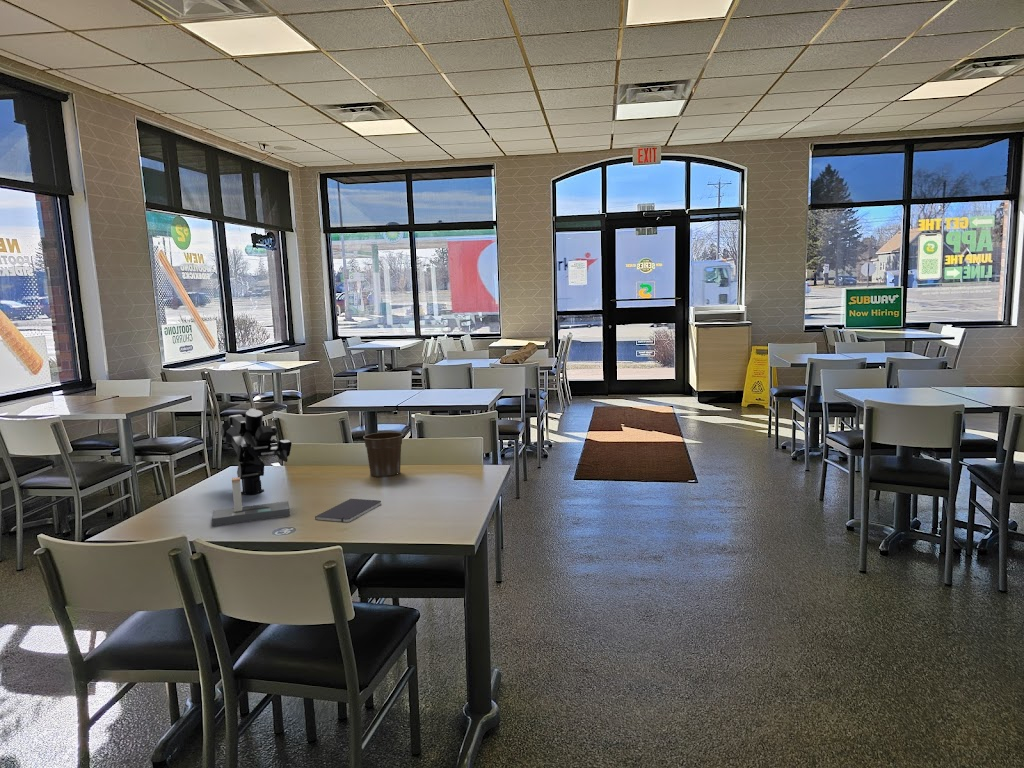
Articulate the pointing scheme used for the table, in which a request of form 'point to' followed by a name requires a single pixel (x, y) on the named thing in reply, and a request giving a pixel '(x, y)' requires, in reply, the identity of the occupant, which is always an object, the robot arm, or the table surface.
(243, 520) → the switch housing
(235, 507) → the slide lever
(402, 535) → the table surface
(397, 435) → the plant pot
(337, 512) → the notebook
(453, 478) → the table surface
